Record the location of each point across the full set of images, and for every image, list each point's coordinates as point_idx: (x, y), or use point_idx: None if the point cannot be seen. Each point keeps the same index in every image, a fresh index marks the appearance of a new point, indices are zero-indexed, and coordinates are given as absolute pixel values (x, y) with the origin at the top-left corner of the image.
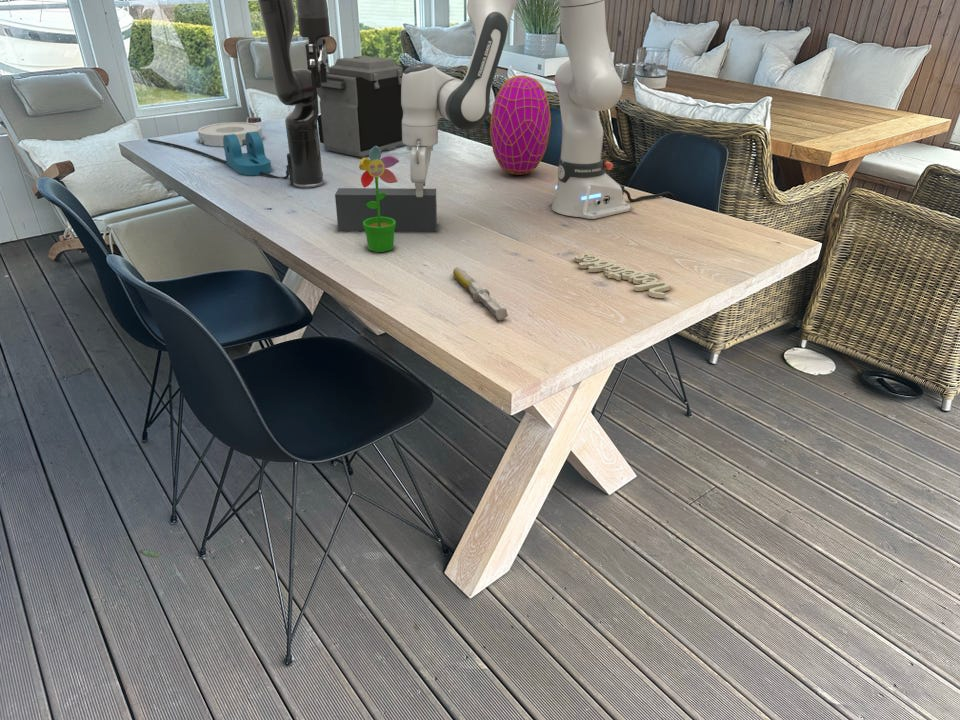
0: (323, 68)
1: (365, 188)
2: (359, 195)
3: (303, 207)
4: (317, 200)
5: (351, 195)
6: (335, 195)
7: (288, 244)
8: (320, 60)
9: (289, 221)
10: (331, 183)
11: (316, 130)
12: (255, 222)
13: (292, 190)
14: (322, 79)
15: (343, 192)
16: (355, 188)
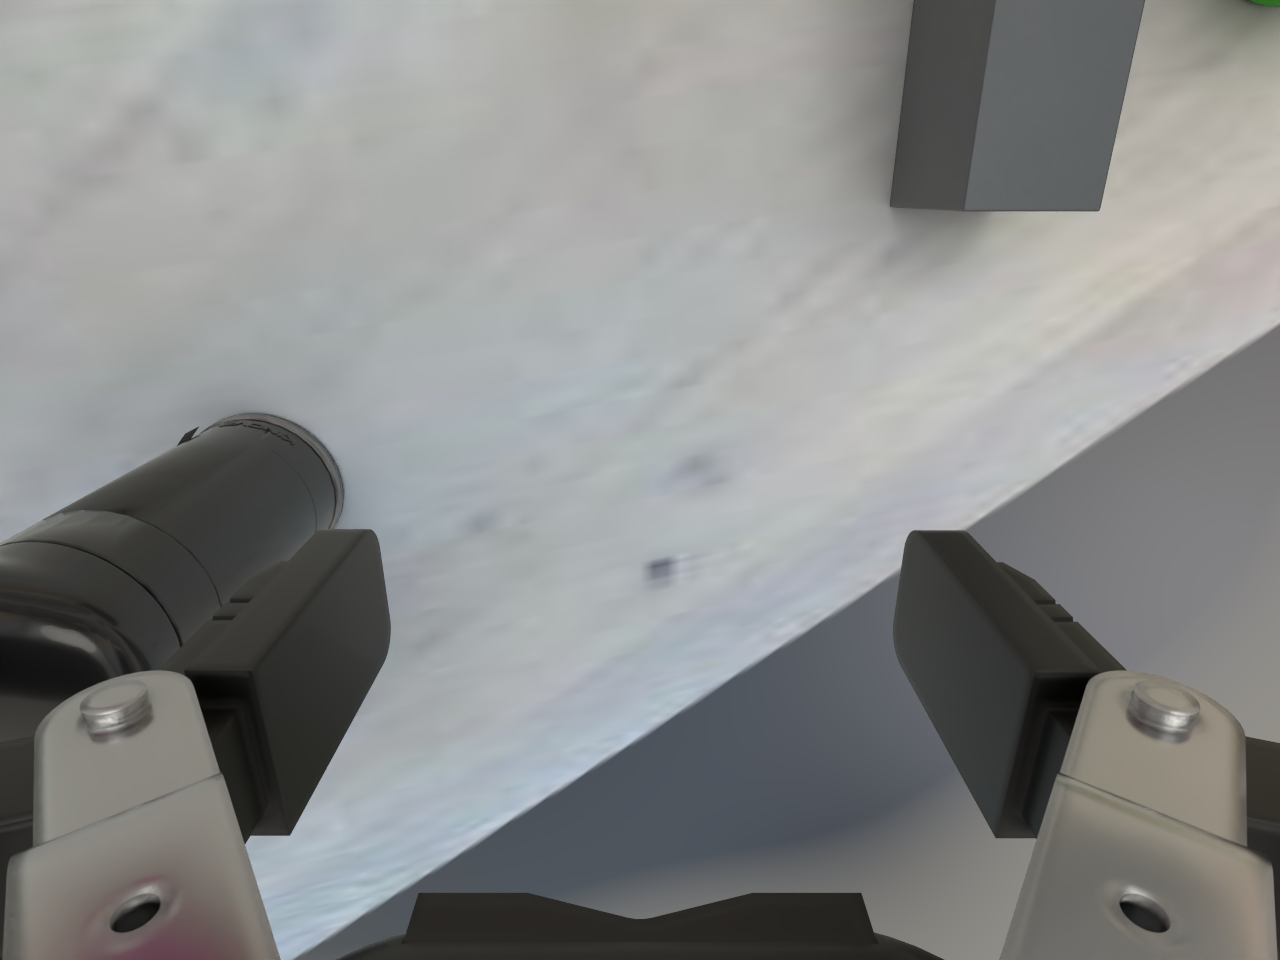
0: (271, 704)
1: (1001, 17)
2: (1133, 42)
3: (634, 436)
4: (524, 392)
5: (1120, 100)
6: (1098, 207)
7: (1117, 400)
8: (1255, 875)
9: (827, 455)
10: (229, 374)
11: (73, 534)
12: (829, 582)
13: (382, 534)
14: (364, 613)
15: (1066, 162)
16: (991, 92)
